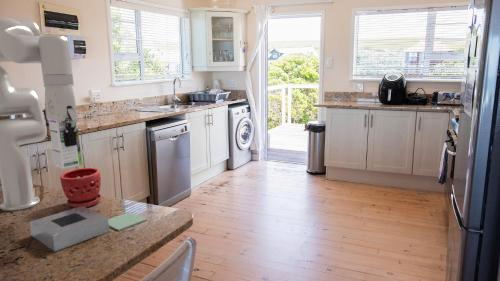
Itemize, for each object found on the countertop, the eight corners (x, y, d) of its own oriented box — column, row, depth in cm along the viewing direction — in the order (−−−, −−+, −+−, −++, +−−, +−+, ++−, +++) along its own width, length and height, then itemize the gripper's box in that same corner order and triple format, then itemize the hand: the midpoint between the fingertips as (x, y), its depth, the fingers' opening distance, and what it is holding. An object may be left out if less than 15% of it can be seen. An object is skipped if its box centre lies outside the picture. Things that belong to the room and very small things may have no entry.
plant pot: (78, 197, 148) (75, 167, 145) (109, 198, 145) (106, 167, 143) (55, 209, 135) (51, 176, 133) (89, 211, 133) (85, 178, 130)
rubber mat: (101, 222, 122) (101, 221, 122) (129, 213, 130) (129, 212, 130) (118, 231, 116) (118, 229, 116) (146, 220, 123) (146, 219, 123)
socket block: (31, 235, 114) (29, 221, 113) (83, 218, 126) (82, 206, 125) (55, 251, 104) (53, 236, 103) (109, 231, 116) (107, 217, 115)
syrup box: (62, 169, 108) (56, 118, 105) (54, 166, 111) (47, 117, 109) (82, 165, 112) (77, 116, 109) (73, 162, 116) (68, 114, 113)
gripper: (32, 81, 110) (40, 143, 113) (57, 82, 98) (65, 150, 102) (59, 80, 115) (66, 139, 119) (86, 81, 104) (92, 145, 107)
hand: (65, 143), depth 110 cm, fingers closed on syrup box, 5 cm apart
